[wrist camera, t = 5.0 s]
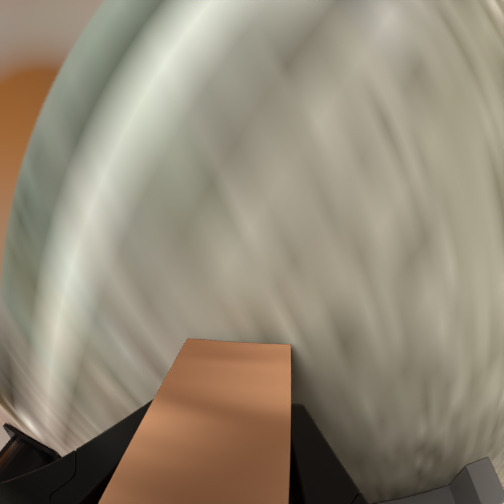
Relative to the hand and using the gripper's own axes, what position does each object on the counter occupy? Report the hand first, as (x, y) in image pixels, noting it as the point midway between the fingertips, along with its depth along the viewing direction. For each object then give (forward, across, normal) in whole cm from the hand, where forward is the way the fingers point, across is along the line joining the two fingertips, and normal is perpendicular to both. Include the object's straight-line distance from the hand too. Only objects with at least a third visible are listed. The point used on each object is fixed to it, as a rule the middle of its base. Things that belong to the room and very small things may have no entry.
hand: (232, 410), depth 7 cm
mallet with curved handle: (+1, 0, +9) cm, 9 cm away
